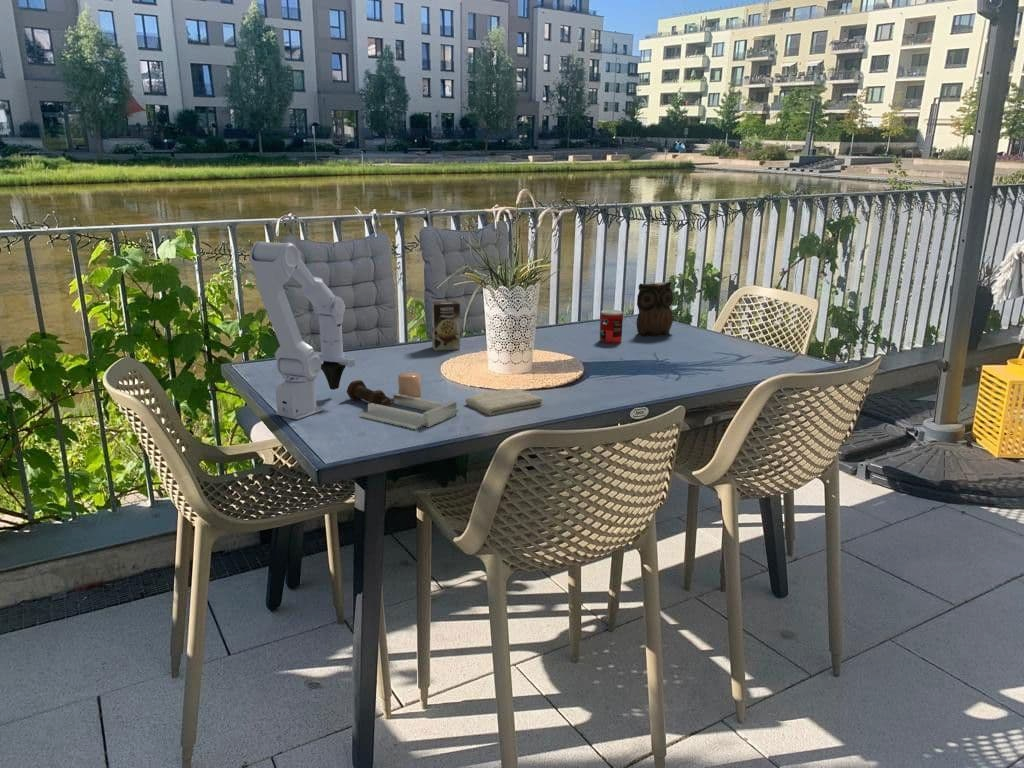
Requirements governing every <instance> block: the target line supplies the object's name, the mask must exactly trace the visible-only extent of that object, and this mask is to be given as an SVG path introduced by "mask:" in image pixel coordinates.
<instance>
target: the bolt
mask: <svg viewBox="0 0 1024 768" xmlns="http://www.w3.org/2000/svg"><path fill="white" fill-rule="evenodd" d="M346 393H347V396H348V397H349V398H350V400H353V401H356V400H360V399H361V400H363V401H365V402H367V403H368V404H370V403H375V404H379V405H384V406H388V407H392V399H391V398H390V397H388V396H386V394H385V392H384V391H383V390H381V389H377V390H372V389H369V388H367V386H366V384H365V383H364V381H363V380H352V381H351V382H350V383H349V384H348V386H347V389H346Z"/></svg>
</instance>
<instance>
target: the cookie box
mask: <svg viewBox="0 0 1024 768" xmlns="http://www.w3.org/2000/svg"><path fill="white" fill-rule="evenodd" d="M431 344H432V345H431V347H432V349H433V351H435V352H436V351H454V350H455V351H456V350H461V304H460V302H458V301H456V300H455V301H454V300H453V301H451V300H450V301H449V300H448V301H431Z"/></svg>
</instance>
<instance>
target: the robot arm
mask: <svg viewBox="0 0 1024 768" xmlns="http://www.w3.org/2000/svg"><path fill="white" fill-rule="evenodd" d="M249 253H250V254H249V257H248V260H249V261H248V262H249V263H250V265H251V268H252V270H253V273H254V276H255V280H256V288H257V291H258V293H259V296H260V298H261V301H262V302H263V303H262V304H263V306H264V308H265V310H266V313H267V316H268V318H269V321H270V323H271V326H272V328H273V331H274V333H275V336H276V339H277V342H278V344H279V347H278V348H277V349H276V351H275V353H274V356H275V360H276V369H277V372H278V373H279V375H281V376H282V379H283V380H284V381H283V382H282V383H280V384H278V385H277V387H276V388H275V389H276V390H275V397H276V412H275V415H277V416H281V417H285V418H288V419H293V420H301V419H303V418H306V417H309V416H312V415H314V414H317V413H319V412H323V411H325V408H324V407H320V406H318V405H317V394H316V381H315V379H317V378H318V376H319V374H320V372H321V371H322V372H323V374H324V376H325V379H326V381H327V384H328V387H329V389H330V390H338V389H339V388H340V382H341V378H342V375H343V374H344V371H345V368H346V366H347V368H352V367H356V359H355V358H352V357H350V356H348V355H346V353H345V352H344V346H343V328H342V327H343V325H342V324H343V323H344V314H345V311H346V304H345V301H344V300H343V299H342V297H341V296H338V295H335V294H334V293H333V292H332V290H331V289H330V288H329V287H328V286H327V284H325V282H324V280H323V278H322V277H318V276H313V275H312V273H311V271H310V270H309V269H308V267H307V266H306V265H305V263H304V262H303V260H302V259H301V257H302V256H301V255H302V254H301V250H299V249H298V247H297V246H296V245H295V244H294V243H292V242H270V241H269V242H268V241H264V240H258V241H256V242H254V243H253V245H252V247H251V250H250V252H249ZM291 277H292V278H293V279H295V281H297V282H298V284H300V285H301V292H302V294H303V295H304V297H306V298H307V299H308V300H309V301H310V303H311V305H312V309H313V313H314V314H315V315H316V316H318V322H319V337H320V338H319V339H320V351H315V350H314V348H313V347H312V346H311V345H309V344H308V343H307V342H305V341H303V338H302V335H301V333H300V329H299V328H298V324H297V321H296V319H295V316H294V314H293V311H292V308H291V305H290V303H289V300H288V297H287V295H286V292H285V288H284V284H287V283H288V282H289V281H290V279H291Z"/></svg>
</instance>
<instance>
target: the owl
mask: <svg viewBox="0 0 1024 768" xmlns="http://www.w3.org/2000/svg"><path fill="white" fill-rule="evenodd" d="M671 285H672V281H667V282H666V281H665V282H650V283H639V285H638V294H637V299H636V302H637V303H636V306H637V308H638V315H637V317H636V331H637V335H638V336H639V335H641V336H640V337H648V336H651V337H660V336H659V335H664V336H667V335H668V333H669V334H670V330H671V328H672V325H673V322H674V320H675V319H674V317H673V315H674V312H673V311H672V309H671V305H672V304H673V302H674V296H673V295H674V292H673V290H672V288H671Z"/></svg>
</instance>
